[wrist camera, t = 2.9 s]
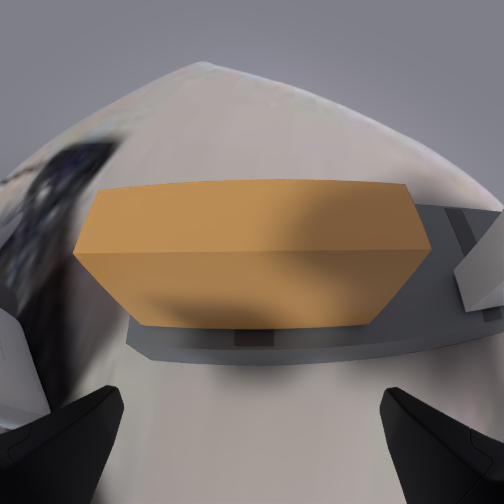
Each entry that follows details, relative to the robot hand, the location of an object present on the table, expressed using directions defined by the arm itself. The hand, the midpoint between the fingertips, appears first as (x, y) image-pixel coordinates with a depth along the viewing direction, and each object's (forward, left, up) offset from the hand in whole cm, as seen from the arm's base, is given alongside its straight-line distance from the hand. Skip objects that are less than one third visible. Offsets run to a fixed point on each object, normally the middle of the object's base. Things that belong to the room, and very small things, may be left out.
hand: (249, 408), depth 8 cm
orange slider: (+6, -1, -5) cm, 7 cm away
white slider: (+3, -17, -5) cm, 18 cm away
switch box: (+7, -9, -9) cm, 14 cm away
